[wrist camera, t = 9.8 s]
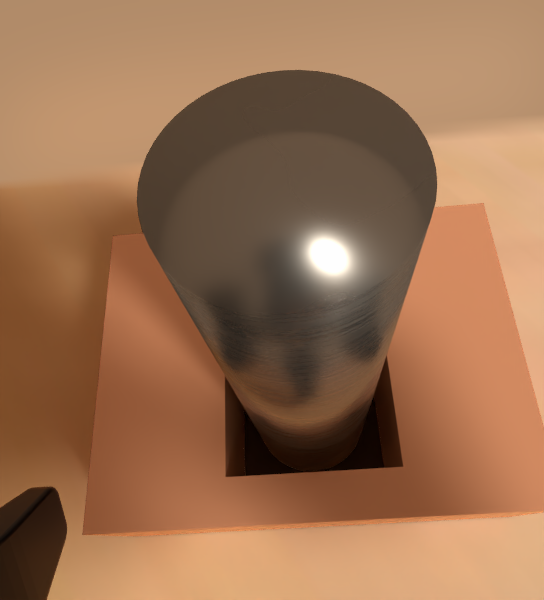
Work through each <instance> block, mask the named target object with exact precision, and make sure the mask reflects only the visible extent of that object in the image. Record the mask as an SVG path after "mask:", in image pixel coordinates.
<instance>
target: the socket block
mask: <svg viewBox="0 0 544 600" xmlns="http://www.w3.org/2000/svg"><path fill="white" fill-rule="evenodd" d="M374 397H375V405H376V412H377V420H378V427H379V435H380V442H381V450H382V457H383V465H384V468H374V469H356V470H339V471H322V472H305V473H288V474H271V475H254V476H246V475H245V430H244V407H243V405H242V404H241V402H240V400H239V399H238V397H237V395H236V394H235V392H234V390H233V388H232V387H231V385H230V383H229V382H228V380H227V378H226V377H225V375H224V373H223V371H222V370H221V368H220V366H219V365H218V363H217V361H216V360H215V358H214V356H213V354H212V353H211V351H210V349H209V348H208V346H207V344H206V342H205V341H204V339H203V337H202V336H201V334H200V332H199V331H198V329H197V327H196V325H195V324H194V322H193V320H192V319H191V317H190V315H189V314H188V312H187V310H186V308H185V307H184V305H183V303H182V302H181V300H180V298H179V296H178V295H177V293H176V291H175V290H174V288H173V286H172V285H171V283H170V281H169V279H168V278H167V276H166V274H165V273H164V271H163V269H162V268H161V266H160V264H159V262H158V261H157V259H156V257H155V256H154V254H153V252H152V250H151V249H150V247H149V245H148V243H147V241H146V238H145V236H144V234H143V233H139V234H127V235H116V236H113V240H112V250H111V260H110V270H109V280H108V289H107V299H106V309H105V319H104V329H103V339H102V348H101V358H100V368H99V378H98V388H97V397H96V407H95V417H94V427H93V437H92V446H91V456H90V466H89V476H88V486H87V496H86V505H85V515H84V525H83V535H104V536H150V535H169V534H188V533H208V532H227V531H246V530H265V529H284V528H303V527H322V526H341V525H360V524H380V523H399V522H418V521H437V520H456V519H475V518H494V517H512V516H519V515H527V514H535V513H542V512H544V426H543V423H542V419H541V415H540V412H539V408H538V404H537V400H536V397H535V393H534V389H533V386H532V382H531V378H530V375H529V371H528V367H527V363H526V360H525V356H524V352H523V349H522V345H521V341H520V337H519V334H518V330H517V326H516V323H515V319H514V315H513V311H512V308H511V304H510V300H509V297H508V293H507V289H506V285H505V282H504V278H503V274H502V271H501V267H500V263H499V259H498V256H497V252H496V248H495V245H494V241H493V237H492V233H491V230H490V226H489V222H488V219H487V215H486V211H485V207H484V204H483V203H480V204H468V205H457V206H446V207H434V210H433V214H432V218H431V221H430V224H429V227H428V230H427V233H426V236H425V239H424V242H423V245H422V248H421V251H420V254H419V257H418V261H417V264H416V267H415V270H414V273H413V276H412V279H411V282H410V285H409V288H408V291H407V294H406V297H405V300H404V303H403V307H402V310H401V313H400V316H399V319H398V322H397V325H396V328H395V331H394V334H393V337H392V340H391V343H390V346H389V350H388V353H387V356H386V359H385V362H384V365H383V368H382V371H381V374H380V377H379V380H378V383H377V386H376V389H375V392H374Z"/></svg>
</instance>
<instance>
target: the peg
mask: <svg viewBox="0 0 544 600" xmlns="http://www.w3.org/2000/svg"><path fill="white" fill-rule="evenodd" d="M436 192H437V176H436V167H435V163H434V159H433V155H432V152H431V149H430V147H429V145H428V142H427V140H426V138H425V136H424V135H423V133H422V132H421V130H420V128H419V127H418V125H417V124H416V123H415V122H414V121H413V119H412V118H411V117H410V116H409V115H408V113H407V112H406V111H405V110H403V109H402V108H401V107H400V106H399V105H398V104H396V103H395V102H394V101H393V100H391V99H390V98H389V97H387V96H385V95H384V94H382V93H381V92H379V91H377V90H375V89H374V88H372V87H370V86H367V85H366V84H363V83H361V82H358V81H355V80H353V79H350V78H347V77H342V76H339V75H336V74H330V73H324V72H318V71H305V70H287V71H275V72H267V73H261V74H257V75H253V76H248V77H245V78H241V79H238V80H235V81H232V82H230V83H227V84H225V85H223V86H220V87H218V88H216V89H214V90H212V91H210V92H208V93H206V94H205V95H203V96H201V97H200V98H198V99H197V100H195V101H194V102H192V103H191V104H189V105H188V106H187V107H186V108H185V109H183V110H182V111H181V112H180V113H178V114H177V115H176V116H175V117H174V118H173V119H172V120H171V121H170V123H168V125H167V126H166V127H165V128H164V129H163V130H162V132H161V133H160V134H159V136H158V137H157V138H156V140H155V141H154V143H153V145H152V147H151V148H150V150H149V152H148V154H147V156H146V159H145V161H144V164H143V167H142V169H141V173H140V178H139V182H138V191H137V207H138V216H139V220H140V224H141V228H142V232H143V234H144V236H145V238H146V241H147V243H148V245H149V247H150V249H151V250H152V252H153V254H154V256H155V257H156V259H157V261H158V262H159V264H160V266H161V268H162V269H163V271H164V273H165V274H166V276H167V278H168V279H169V281H170V283H171V285H172V286H173V288H174V290H175V291H176V293H177V295H178V296H179V298H180V300H181V302H182V303H183V305H184V307H185V308H186V310H187V312H188V314H189V315H190V317H191V319H192V320H193V322H194V324H195V325H196V327H197V329H198V331H199V332H200V334H201V336H202V337H203V339H204V341H205V342H206V344H207V346H208V348H209V349H210V351H211V353H212V354H213V356H214V358H215V360H216V361H217V363H218V365H219V366H220V368H221V370H222V371H223V373H224V375H225V377H226V378H227V380H228V382H229V383H230V385H231V387H232V388H233V390H234V392H235V394H236V395H237V397H238V399H239V400H240V402H241V404H242V405H243V407H244V409H245V411H246V412H247V414H248V416H249V417H250V419H251V421H252V423H253V424H254V426H255V428H256V429H257V431H258V433H259V434H260V436H261V438H262V440H263V441H264V443H265V445H266V446H267V448H268V449H269V451H270V452H271V453H272V454H273V455H274V456H275V457H276V458H277V459H278V460H279V461H281V462H282V463H283V464H285V465H287V466H289V467H291V468H294V469H297V470H301V471H309V472H314V471H322V470H326V469H329V468H332V467H334V466H336V465H338V464H339V463H341V462H342V461H343V460H345V459H346V458H347V457H348V456H349V455H350V454H351V452H352V451H353V450H354V448H355V446H356V445H357V443H358V441H359V438H360V435H361V432H362V429H363V426H364V423H365V420H366V417H367V414H368V411H369V408H370V405H371V402H372V399H373V396H374V392H375V389H376V386H377V383H378V380H379V377H380V374H381V371H382V368H383V365H384V362H385V359H386V356H387V353H388V350H389V346H390V343H391V340H392V337H393V334H394V331H395V328H396V325H397V322H398V319H399V316H400V313H401V310H402V307H403V303H404V300H405V297H406V294H407V291H408V288H409V285H410V282H411V279H412V276H413V273H414V270H415V267H416V264H417V261H418V257H419V254H420V251H421V248H422V245H423V242H424V239H425V236H426V233H427V230H428V227H429V224H430V221H431V218H432V214H433V210H434V206H435V202H436Z"/></svg>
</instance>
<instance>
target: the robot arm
mask: <svg viewBox="0 0 544 600" xmlns="http://www.w3.org/2000/svg"><path fill="white" fill-rule="evenodd" d="M66 534H67V524H66V520H65V516H64V512H63V509H62V505H61V501H60V498H59V494H58V492H57V490H56V489H55V488H53V487H35V488H30V489H28V490H27V491H25V492H23V493H22V494H20V495H19V496H17V497H16V498H14V499H13V500H11V501H10V502H8V503H7V504H5V505H4V506H2V507H1V508H0V600H47V597H48V594H49V591H50V587H51V584H52V581H53V578H54V575H55V571H56V568H57V565H58V562H59V559H60V555H61V552H62V549H63V546H64V543H65V539H66Z"/></svg>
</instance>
